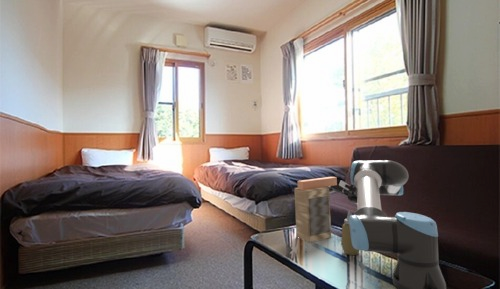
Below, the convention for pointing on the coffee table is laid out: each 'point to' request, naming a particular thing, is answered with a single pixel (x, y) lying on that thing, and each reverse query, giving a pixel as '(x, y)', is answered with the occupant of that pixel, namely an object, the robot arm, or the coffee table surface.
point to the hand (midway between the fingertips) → (330, 181)
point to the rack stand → (312, 214)
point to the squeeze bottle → (347, 238)
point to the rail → (317, 183)
